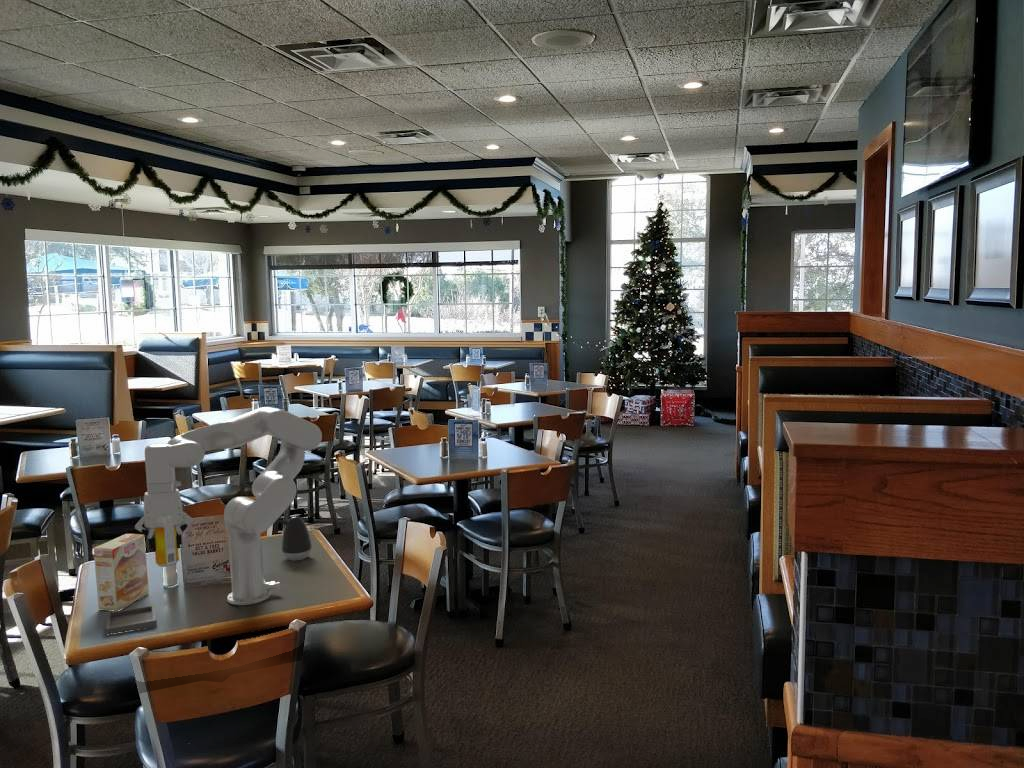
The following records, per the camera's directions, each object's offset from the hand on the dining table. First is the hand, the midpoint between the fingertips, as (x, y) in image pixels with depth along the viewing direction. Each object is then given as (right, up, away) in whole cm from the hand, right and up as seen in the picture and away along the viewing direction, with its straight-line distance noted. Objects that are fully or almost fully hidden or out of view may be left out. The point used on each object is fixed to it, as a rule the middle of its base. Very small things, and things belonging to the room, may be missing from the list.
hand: (165, 548), depth 243 cm
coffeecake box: (-20, -20, +18) cm, 34 cm away
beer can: (0, -5, +1) cm, 5 cm away
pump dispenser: (+24, -14, +55) cm, 61 cm away
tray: (-11, -22, +2) cm, 24 cm away
